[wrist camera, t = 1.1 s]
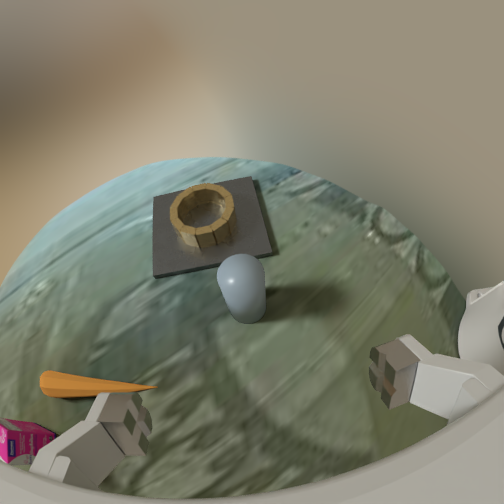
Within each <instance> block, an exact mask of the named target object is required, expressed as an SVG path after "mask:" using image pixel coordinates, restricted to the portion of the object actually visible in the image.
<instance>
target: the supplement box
mask: <svg viewBox="0 0 504 504" xmlns="http://www.w3.org/2000/svg"><path fill="white" fill-rule="evenodd" d="M55 439H56V434H55V433H53V432H51V431H49V430H47V429H45V428H43V427H41V426H40V425H38V424H36V423H32V422H23V421H16V420H9V419H3V418H0V459H1V460H2V461H3V462H5V463H7V464H10V465H32V463H33V461H34V459H35V457H36V455H37V453H38V451H39V450H40V449H41V448H43V447H44V446H46V445H47V444H49V443H50V442H52V441H53V440H55Z"/></svg>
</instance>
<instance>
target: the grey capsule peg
mask: <svg viewBox="0 0 504 504" xmlns="http://www.w3.org/2000/svg"><path fill="white" fill-rule="evenodd" d="M217 280H218V284H219V286H220V288H221V291H222V293H223V296H224V298H225V301H226V303H227V305H228V308H229V310H230V313H231V315H232V316H233V318H234V319H235V320H237V321H238V322H240V323H244V324H251V323H255V322H257V321H258V320H260V319H261V318H262V317H263V315H264V313H265V311H266V293H265V272H264V268H263V266H262V264H261V262H260V261H259V260H258V259H256V258H255V257H253V256H251V255H248V254H236V255H233V256H230V257H228V258H227V259H225V260H224V261H223V262H222V264H221V265H220V267H219V269H218V272H217Z"/></svg>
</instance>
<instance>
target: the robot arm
mask: <svg viewBox="0 0 504 504" xmlns="http://www.w3.org/2000/svg"><path fill="white" fill-rule="evenodd" d="M477 296H478V297H477ZM458 348H459V354H460V359H459V358H454V357H449V356H445V355H440V354H435V355H433V354H431V353H430V352H429V351H428V350H427V349H426V348H425V347H424V346H422V345H421V344H420V343H419V342H418V341H417V340H416V339H414V338H413V337H412V336H411V335H409V334H406V335H404V336H401V337H399V338H396V339H395V340H392V341H389V342H387V343H384V344H381V345H378V346H375V347H372V348H371V351H370V358H371V359H372V361H373V362H372V364H371V365H370V367H369V377H370V381H371V384H372V386H373V387H374V389H375V390H376V391H379V392H382V393H381V399H382V400H383V402H384V403H385V405H386V406H387V407H388V409H392V408H394V407H397V406H399V405H402V404H404V403H406V402H409V401H410V403H413V404H415V405H417V406H419V407H421V408H424V409H426V410H428V411H430V412H433V413H435V414H437V415H440V416H442V417H444V418H447V419H449V420H448V423H447V425H446V427H444V428H443V429H441V430H439V431H438V432H436V433H434V434H432V435H430V436H429V437H427V438H425V439H423V440H421V441H419V442H417V443H415V444H413V445H411V446H409V447H407V448H405V449H403V450H401V451H399V452H397V453H395V454H392V455H390V456H388V457H385V458H383V459H381V460H378V461H376V462H373V463H371V464H368V465H366V466H363V467H360V468H358V469H355V470H352V471H349V472H346V473H343V474H340V475H337V476H333V477H330V478H327V479H323V480H320V481H316V482H312V483H308V484H304V485H300V486H296V487H291V488H286V489H281V490H276V491H270V492H264V493H258V494H251V495H243V496H233V497H221V498H203V499H167V498H149V497H137V496H128V495H120V494H113V493H107V492H103V491H102V490H101V489H100V488H99V487H98V485H99V484H100V483H101V482H102V481H103V480H104V479H105V478H106V477H107V476H108V475H109V474H110V473H111V471H112V470H113V469H114V468H115V467H116V466H117V465H118V464H119V463H120V462H121V460H122V459H123V458H124V457H125V455H134V456H146V454H147V449H148V445H149V441H148V440H147V438H146V437H147V436H148V435H149V434H150V433H151V431H152V419H151V416H150V413H149V411H148V409H146V408H145V407H143V406H142V405H141V404H142V401H143V400H142V398H141V397H140V395H139V394H138V393H136V392H112V393H104V392H101V393H99V394H98V395H97V397H96V399H95V401H94V403H93V405H92V407H91V409H90V411H89V413H88V415H87V418H86V420H85V421H81V422H79V423H78V424H76V425H75V426H73V427H72V428H71V429H69V430H68V431H66V432H65V433H63V434H62V435H60V436H59V437H57V438H56V439H55V440H53V441H52V442H50V443H49V444H47V445H46V446H44V447H43V448H41V449H40V450H39V451H38V453H37V455H36V457H35V459H34V461H33V463H32V465H31V467H30V469H29V472H27V471H25V470H22V469H19V468H17V467H14V466H12V465H10V464H7V463H5V462H3V461H0V504H504V280H503V281H502V282H501V283H499V284H498V285H496V286H495V287H489V288H483V289H477V290H472V291H470V292H469V293H468V295H467V302H466V311H465V313H464V315H463V318H462V320H461V323H460V327H459V333H458Z"/></svg>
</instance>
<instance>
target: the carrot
mask: <svg viewBox="0 0 504 504" xmlns="http://www.w3.org/2000/svg"><path fill="white" fill-rule="evenodd" d="M40 387H41V389H42V391H43V393H44V394H46V395H48V396H50V397H55V398H67V397H88V396H97V395H98V394H99V393H101V392H104V393H112V392H135V391H140V390H146V389H151V388H156V387H154V386H145V385H138V384H131V383H124V382H118V381H109V380H102V379H95V378H88V377H82V376H76V375H70V374H65V373H60V372H55V371H50V370H49V371H46V372H43V374H42V375H41V376H40Z"/></svg>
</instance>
